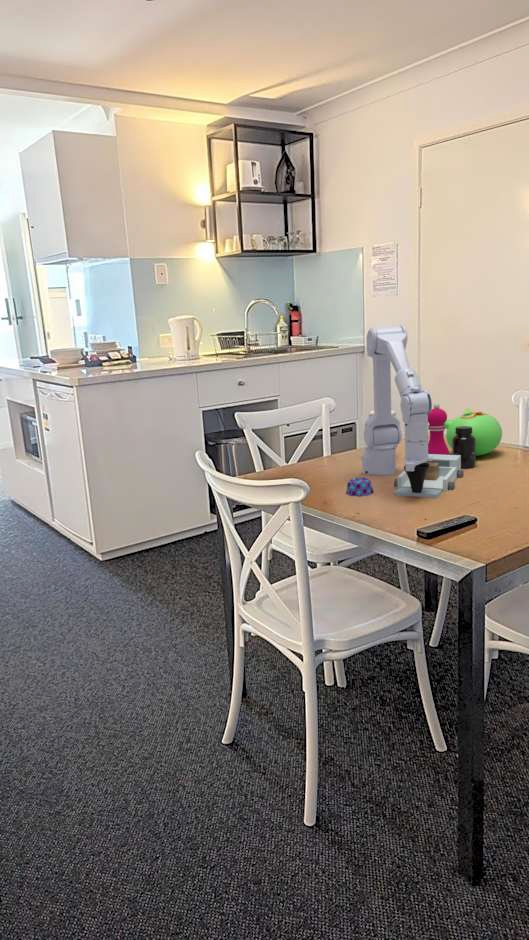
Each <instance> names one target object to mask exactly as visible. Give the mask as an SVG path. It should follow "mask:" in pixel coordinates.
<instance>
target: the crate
mask: <svg viewBox="0 0 529 940" xmlns="http://www.w3.org/2000/svg"><path fill="white" fill-rule="evenodd" d="M424 463H429V467H428V469H427V472H426V475H425V478H424V480H437V478H438V477H439V463H433V462H424Z"/></svg>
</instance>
